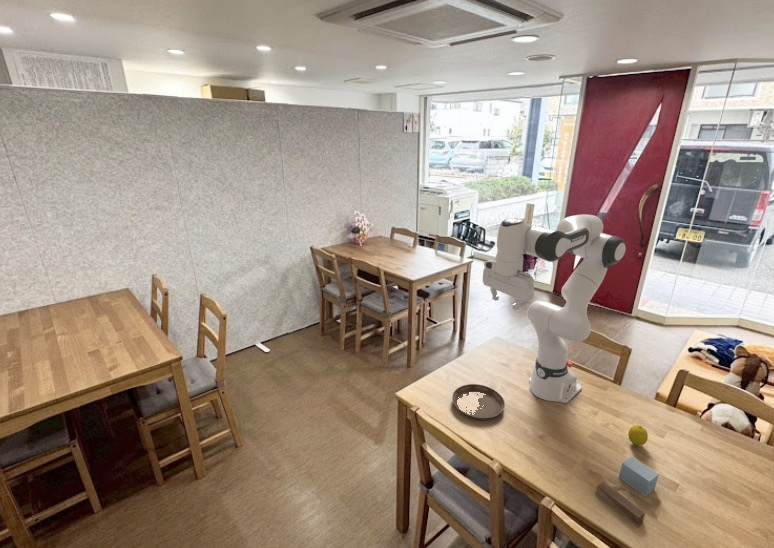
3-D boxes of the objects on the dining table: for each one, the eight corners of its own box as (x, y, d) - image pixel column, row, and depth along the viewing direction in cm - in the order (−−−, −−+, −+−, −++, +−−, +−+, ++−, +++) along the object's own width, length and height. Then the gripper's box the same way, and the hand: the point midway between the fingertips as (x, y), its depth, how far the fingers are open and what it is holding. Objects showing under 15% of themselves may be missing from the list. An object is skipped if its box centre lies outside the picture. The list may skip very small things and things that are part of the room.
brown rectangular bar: (601, 489, 116) (603, 481, 114) (642, 521, 106) (645, 512, 104) (595, 494, 114) (597, 485, 113) (636, 527, 104) (639, 517, 103)
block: (627, 471, 122) (631, 456, 120) (654, 489, 115) (658, 474, 113) (618, 477, 120) (622, 462, 118) (645, 496, 113) (649, 481, 111)
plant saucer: (515, 415, 148) (516, 408, 147) (470, 430, 141) (470, 422, 140) (483, 385, 166) (484, 379, 165) (442, 397, 159) (443, 391, 158)
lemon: (642, 440, 134) (647, 422, 131) (647, 452, 129) (651, 433, 126) (624, 437, 136) (628, 419, 133) (628, 448, 131) (633, 429, 128)
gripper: (540, 273, 120) (535, 313, 125) (493, 258, 137) (491, 293, 141) (526, 277, 117) (522, 317, 122) (480, 261, 134) (478, 296, 139)
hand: (505, 304), depth 132 cm, fingers open, 8 cm apart
